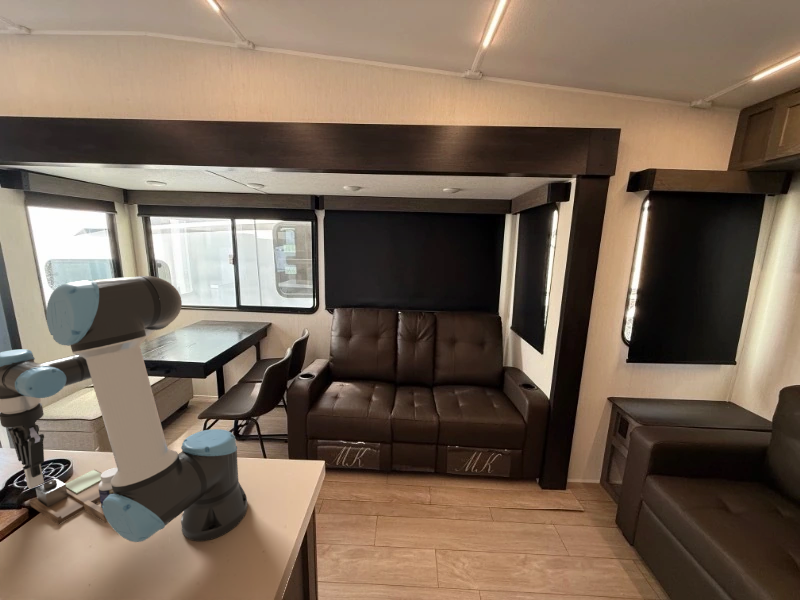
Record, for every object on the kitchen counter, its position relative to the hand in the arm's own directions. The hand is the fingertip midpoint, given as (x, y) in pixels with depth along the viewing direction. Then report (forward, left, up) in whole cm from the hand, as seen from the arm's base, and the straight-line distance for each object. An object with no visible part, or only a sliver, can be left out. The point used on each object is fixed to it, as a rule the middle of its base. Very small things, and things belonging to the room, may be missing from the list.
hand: (35, 484), depth 91 cm
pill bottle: (-24, -6, -3) cm, 25 cm away
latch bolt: (-9, 0, -1) cm, 9 cm away
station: (-16, -4, -3) cm, 17 cm away
